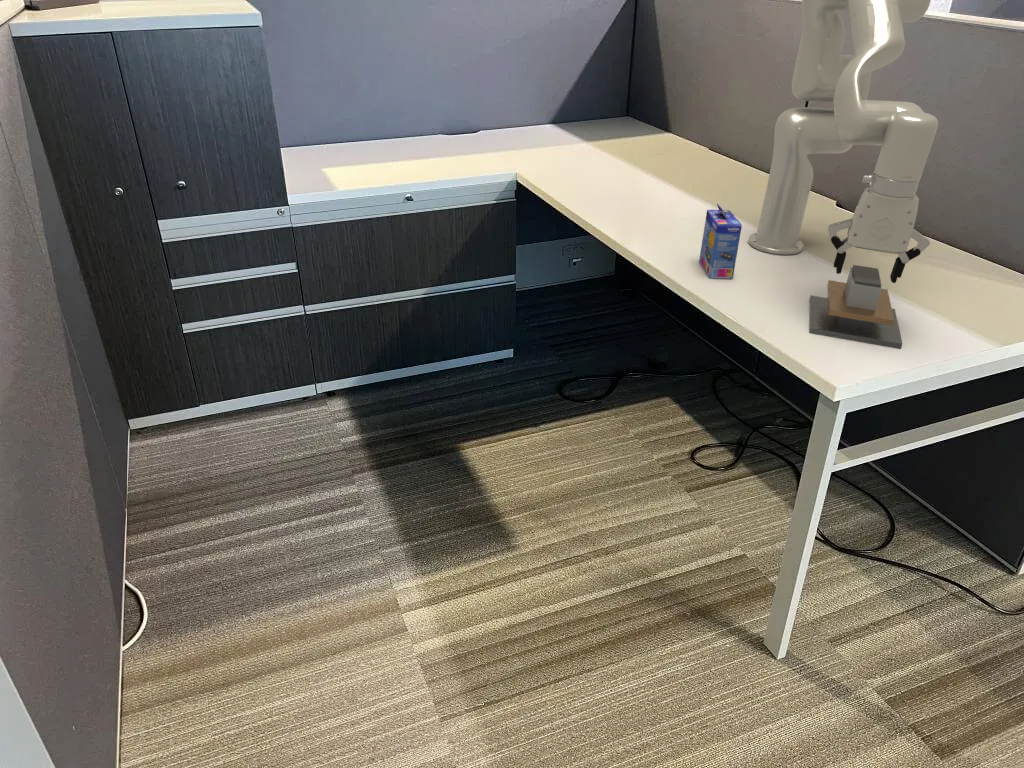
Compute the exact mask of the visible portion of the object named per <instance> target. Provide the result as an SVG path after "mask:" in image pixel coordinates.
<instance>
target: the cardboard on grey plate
mask: <svg viewBox="0 0 1024 768" xmlns="http://www.w3.org/2000/svg"><path fill="white" fill-rule="evenodd" d="M826 286H827V287H826V288H827V297H824V296H823V297H822V296H817V295H812V294H811V295H810V297H809V302H808V303H809V305H808V307H809V308H808V309H809V313H808V315H809V317H808V318H809V320H808V321H809V323H808V324H809V326H808V331H809V334H815V335H821V336H824V337H831V338H837V339H844V340H849V341H854V342H861V343H866V344H872V345H876V346H883V347H888V348H894V349H899V350H901V349H902V347H903V339H902V334H901V331H900V326H899V321H898V318H897V317H898V316H897V313H896V309H895V308H892V303H891V299H890V295H889V294H890V293H889V290H888V288H882V291H881V294H880V297H879V300H878V303H877V306H876V309H875V311H874V310H868V309H862V308H856V307H850V306H846V295H845V286H846V282H843V281H836V280H831V279H828V281H827V285H826Z"/></svg>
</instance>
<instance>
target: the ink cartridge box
mask: <svg viewBox="0 0 1024 768" xmlns="http://www.w3.org/2000/svg"><path fill="white" fill-rule="evenodd" d="M716 205H717V208H718V209H706V216H705V222H704V228H703V234H702V241H701V247H700V253H699V258H698V262H699V264H700V265H701V267H702V269H703V271H704V272H705V274H706V276H707V278H709V279H728V280H731V279H733V278H734V274H735V268H736V263H737V262H736V261H737V256H738V251H739V245H740V238H741V234H742V233H741V232H742V228H743V227H742V226H743V225H742V223H741V222H740V221H739V219H737V218H736V217H735V214H733V212H732V211H731V210H729V209H723V208H722V206H720V204H719V203H716Z"/></svg>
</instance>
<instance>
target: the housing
mask: <svg viewBox="0 0 1024 768" xmlns="http://www.w3.org/2000/svg"><path fill="white" fill-rule="evenodd" d="M846 279H847V280H846V282H845V283H846V286H845V295H846V306H850V307H856V308H862V309H868V310H874V311H875V309H876V306H877V303H878V300H879V297H880V294H881V291H882V289H883V287H882V286H883V285H882V282H881V277H880V270H879V268H877V267H870V266H863V265H858V264H857V265H856V264H853V265H852V266H851V267H850V270H849V273H848V276H847V278H846Z"/></svg>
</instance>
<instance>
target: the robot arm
mask: <svg viewBox="0 0 1024 768" xmlns="http://www.w3.org/2000/svg"><path fill="white" fill-rule="evenodd" d="M930 4H931V0H801V10H802V11H801V12H802V13H801V16H802V31H801V38H800V41H799V45H798V50H797V55H796V60H795V64H794V70H793V75H792V80H791V93H792V95H793V96H794V97H795V98H796V99H797V100H799V101H804V102H815V103H816V102H817V103H818V102H819V103H833V108H830V107H828V108H827V107H826V108H825V107H807V106H806V107H805V106H801V107H792V108H788V109H786V110H785V111H783V112H782V113H781V114H779V116H778V117H777V119H776V121H775V127H774V137H773V138H774V139H773V140H774V141H773V151H772V158H771V159H772V160H771V165H770V170H769V175H768V179H767V185H766V188H765V189H766V190H765V193H764V199H763V202H762V206H761V207H762V208H761V211H760V217H759V220H758V227H757V230H756V232H754V233H752V234H750V235H749V236H748V240H747V241H748V243H749V245H750V246H751V247H752V248H754V249H757V250H759V251H761V252H764V253H769V254H775V255H784V256H785V255H796V254H799V253H801V252H802V251H803V249H804V242H802V241H801V240H800V239H799V237H800V232H801V229H802V225H803V220H804V217H805V213H806V208H807V205H808V201H809V196H810V193H811V188H812V184H813V180H814V169H813V166H812V163H811V162H810V160H809V157H808V155H811V154H826V155H827V154H828V155H830V154H831V155H832V154H833V155H834V154H836V155H837V154H839V155H840V154H844V153H846V152H848V151H849V150H850V149H851V148H852V147H853V146H854V145H857V146H858V145H859V146H881V148H880V152H879V154H878V158H877V161H876V165H875V168H874V170H873V172H872V173H871V174H868V175H866V174H865V175H863V177H862V181H861V182H862V184H866V185H868V187H866V188H864V191H863V192H862V193H861V196H860V197H859V200H858V202H857V204H856V207H855V209H854V212H853V215H852V218H848V219H845V220H841V221H838V222H835V223H831V224H828V226H827V231H828V235H829V238H830V242H831V244H832V245H833V247H834V248H835V249H836V255H835V259H834V262H833V268H835V272H836V274H838V275H840V274H842V270H843V267H844V264H845V260H846V257H847V250H849V249H851V248H855V249H861V250H862V249H863V250H869V251H874V252H881V253H889V254H895V255H896V254H897V257H896V258H895V261H894V264H893V267H892V269H891V273H890V276H889V277H890V281H891V283H892V284H896V282H897V280H898V278H899V279H901V278H902V276H903V272H904V269H905V266H906V264H908V263H909V262H910V261H912V260H914V259H915V258H917V257H919V256H920V255H921V254H922V252H924V250H926V249H927V248H928V247H929V246H930V245H931V242H930V239H929V238H928V237H926V236H924V235H923V234H922V233H920V232H919V231H917V230H916V229H915V228H914V227H915V223H916V219H917V213H918V209H919V202H920V199H919V197H918V196H917V194H916V193H917V191H918V187H919V184H920V180H921V178H922V175H923V172H924V169H925V166H926V163H927V161H928V160H927V159H928V157H929V154H930V153H931V148H932V145H933V144H934V143H933V142H934V140H935V137H936V134H937V131H938V127H939V121H938V119H937V117H936V116H934V114H933V115H932V114H931V113H927V112H924V111H923V109H922V107H920V106H919V105H918V104H916V103H914V102H910V101H896V100H895V101H894V100H879V99H878V100H876V99H875V100H873V99H872V100H871V99H868V96H869V92H870V88H871V82H872V72H874V71H876V70H879V69H881V68H884V67H887V66H888V65H890V64H892V63H893V62H894V61H896V60H897V59H899V57H900V56H901V55H902V54H903V53H904V50H905V47H906V41H905V34H904V33H905V32H904V27H903V26H904V25H903V23H907V24H909V23H914V22H917V21H919V20H920V19H921V18H923V16H924V15H926V13H927V11H928V9H929V6H930ZM840 11H847V12H848V20H849V30H850V38H851V46H852V53H853V54H842V49H843V45H844V40H845V37H846V28H845V24H844V23H845V22H844V20H843V18H842V16H841V14H840ZM846 229H848V230H847V236H846V237H844V238H843V239H842V240H841V239H840V237H839V236H838V232H840V231H843V230H846ZM911 239H913V241H915V242H917V244H916V245H915V246H913V247H912V248H910V249H909V250H907V249H908V247H909V246H910V242H911Z"/></svg>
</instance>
